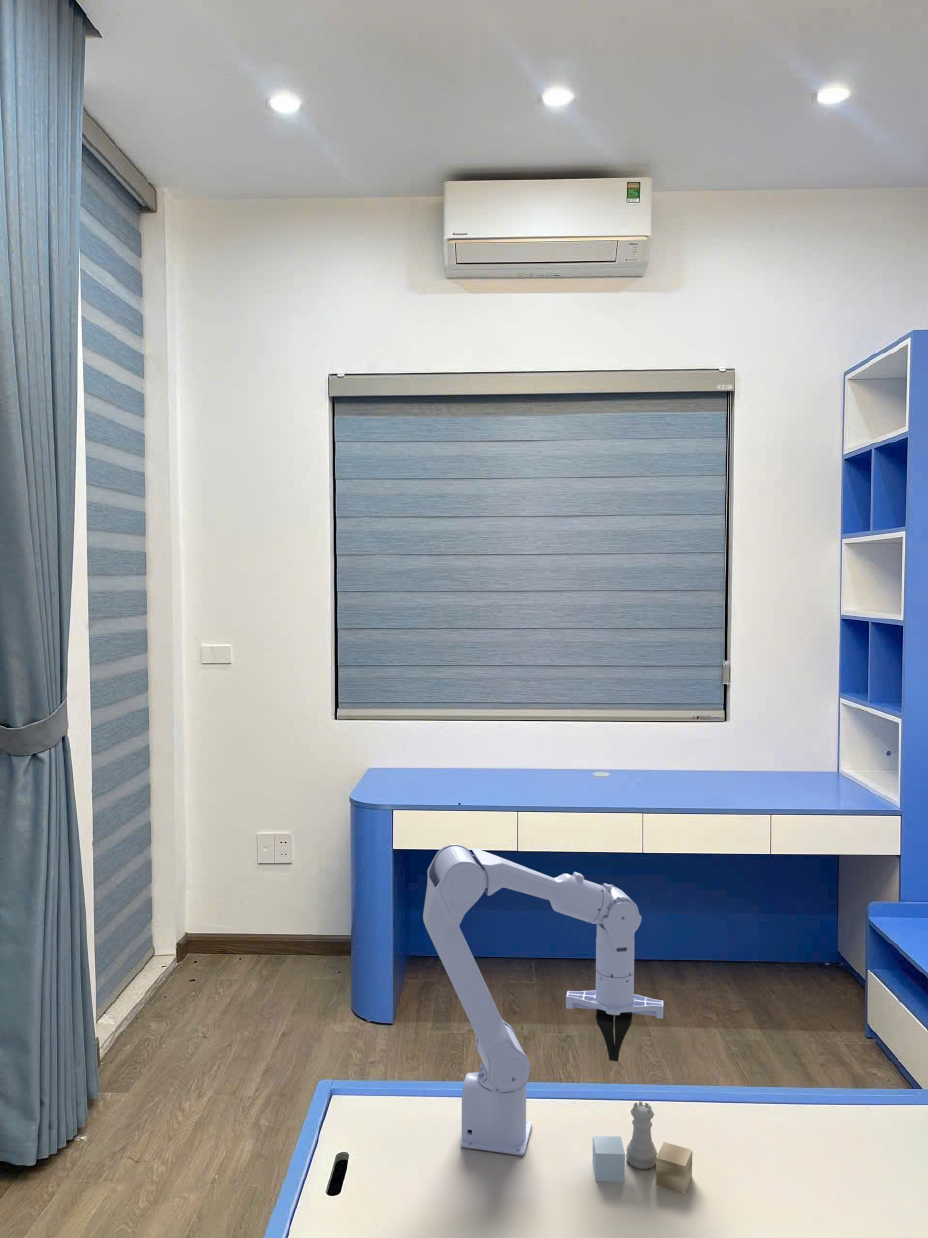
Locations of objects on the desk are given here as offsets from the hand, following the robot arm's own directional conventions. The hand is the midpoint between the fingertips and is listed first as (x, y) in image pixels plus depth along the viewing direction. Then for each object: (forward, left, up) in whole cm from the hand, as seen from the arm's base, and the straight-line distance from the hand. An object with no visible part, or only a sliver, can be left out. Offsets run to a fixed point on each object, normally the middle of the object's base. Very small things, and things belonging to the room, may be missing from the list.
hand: (613, 1057), depth 140 cm
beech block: (+9, -12, -10) cm, 18 cm away
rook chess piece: (+5, -8, -11) cm, 14 cm away
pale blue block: (0, -12, -10) cm, 16 cm away
